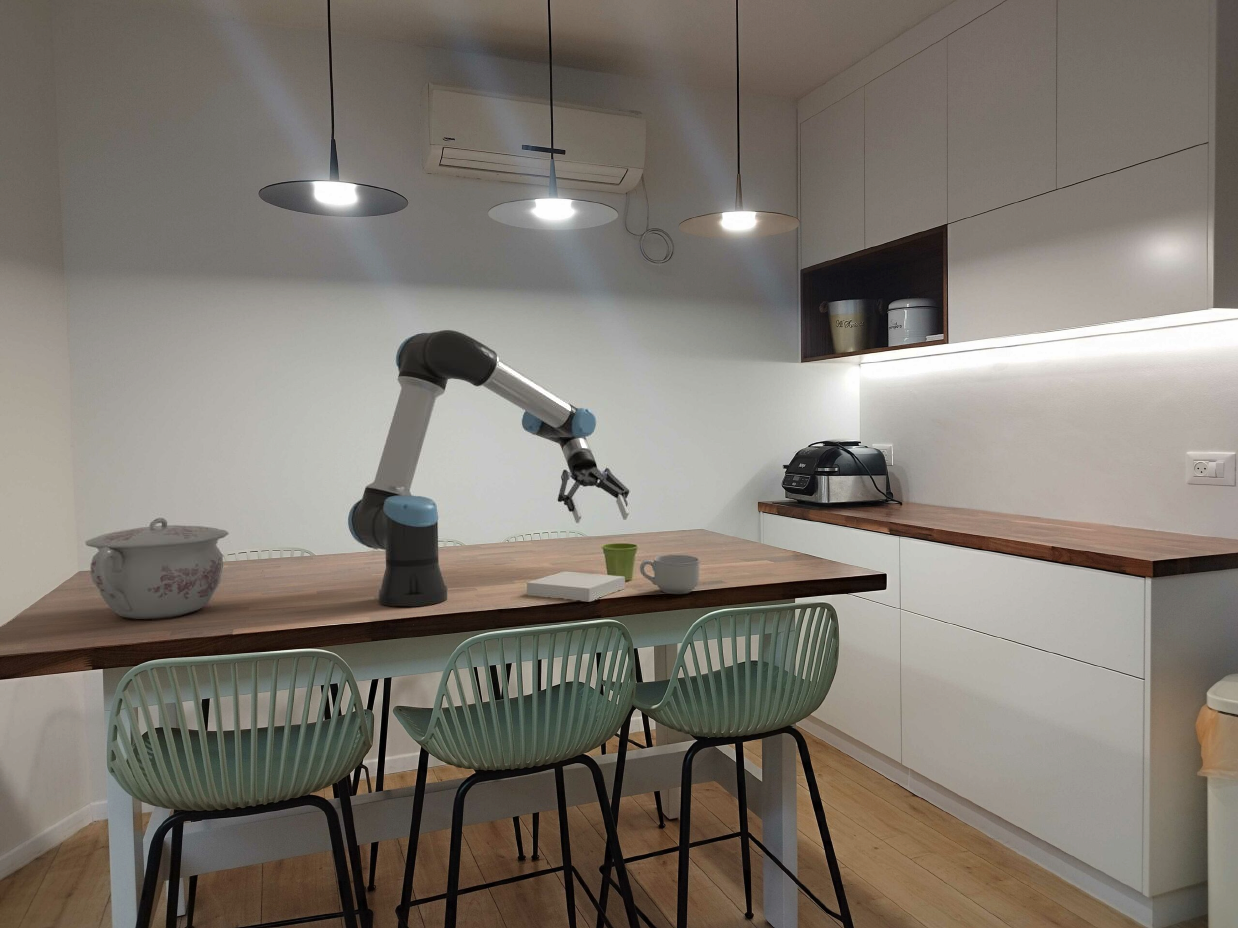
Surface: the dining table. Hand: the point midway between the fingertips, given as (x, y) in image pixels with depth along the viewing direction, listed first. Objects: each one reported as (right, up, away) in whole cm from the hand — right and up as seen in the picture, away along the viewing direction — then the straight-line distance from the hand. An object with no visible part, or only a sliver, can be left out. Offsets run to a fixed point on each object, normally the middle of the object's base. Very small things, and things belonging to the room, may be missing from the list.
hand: (602, 518), depth 227 cm
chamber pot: (-95, -18, -39) cm, 104 cm away
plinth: (-6, -16, -24) cm, 29 cm away
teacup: (+16, -16, -25) cm, 34 cm away
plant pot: (+5, -15, -9) cm, 18 cm away
